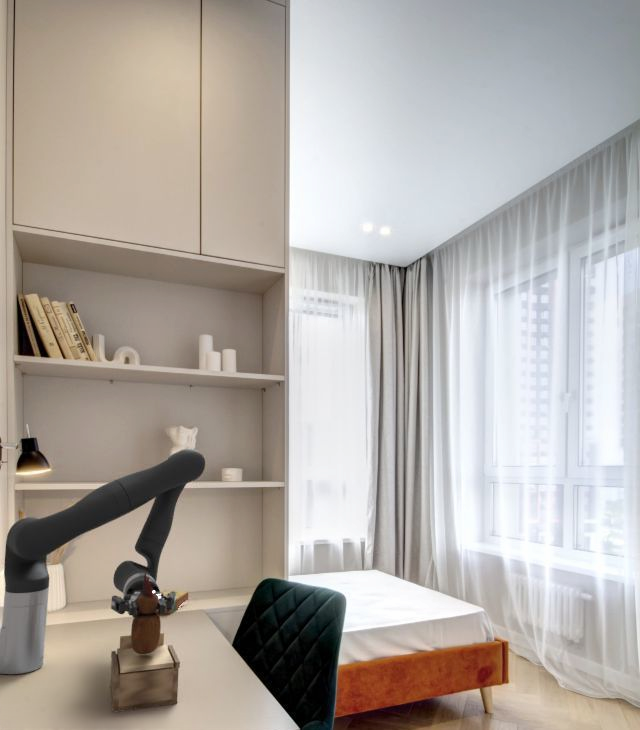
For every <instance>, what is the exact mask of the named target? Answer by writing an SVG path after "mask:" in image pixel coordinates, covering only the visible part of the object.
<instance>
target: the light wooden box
mask: <svg viewBox="0 0 640 730" xmlns="http://www.w3.org/2000/svg"><path fill="white" fill-rule="evenodd" d="M167 648H168V651H169V653H170V655H171V657H172V660H173V662H174V667H168V668H160V669H151V670H143V671H135V672H126V673H120V668H119V662H118V656H117V650H112V651H111V652H110V653H111V654H110V656H111V657H110V658H111V660H110V661H111V664H110V666H111V667H110V679H109V681H110V682H109V683H110V684H109V692H110V691H111V693H110V700H112V702H111V710H112V709H113V710H112V713H116V712H115V711H117V712H123V711H130V709H132V710H138V709H137V708H139V709H144V708H145V709H146V708H152V707H158V706H165V705H166V706H167V705H174V704H178V693H179V669H180V666H181V665H180V664H181V661H180V659H179V657H178V654H177V653H176V651H175V650H176V649H174V646H173V645H172V644H169V645H167ZM135 708H136V709H135ZM122 710H123V711H122Z"/></svg>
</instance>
